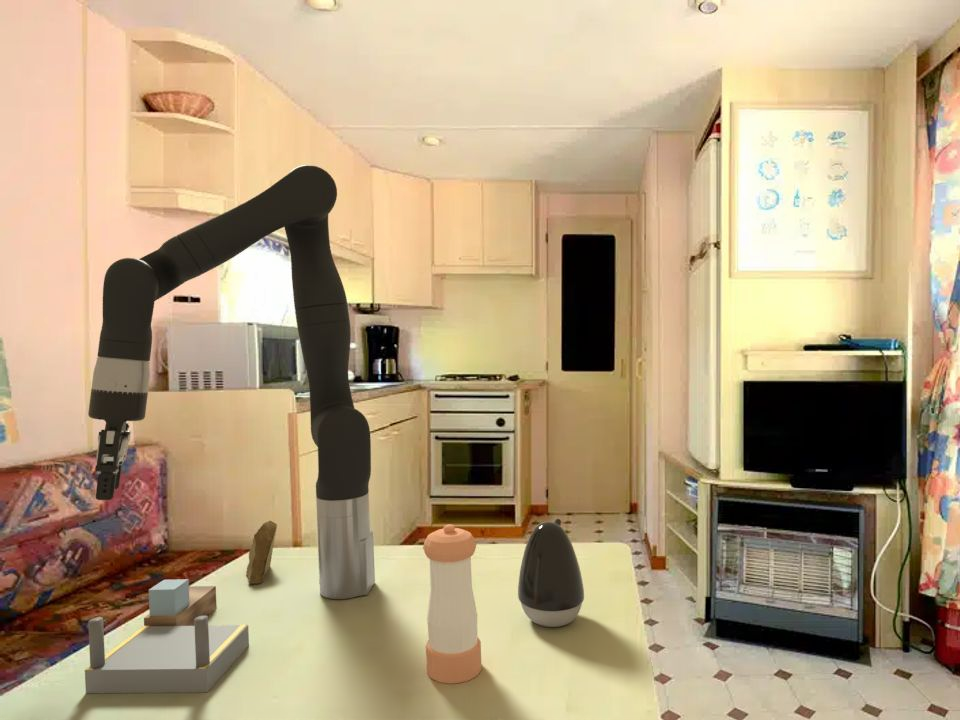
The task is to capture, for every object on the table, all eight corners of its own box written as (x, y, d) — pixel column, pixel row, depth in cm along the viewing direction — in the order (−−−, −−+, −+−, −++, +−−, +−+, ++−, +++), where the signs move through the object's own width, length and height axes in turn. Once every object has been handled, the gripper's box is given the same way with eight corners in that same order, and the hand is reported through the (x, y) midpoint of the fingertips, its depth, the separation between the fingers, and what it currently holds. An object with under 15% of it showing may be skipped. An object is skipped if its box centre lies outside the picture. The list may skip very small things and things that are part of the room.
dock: (249, 645, 87) (246, 584, 87) (207, 692, 75) (204, 621, 75) (143, 646, 87) (140, 586, 87) (85, 693, 75) (82, 623, 75)
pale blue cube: (165, 604, 93) (163, 579, 93) (189, 604, 93) (188, 579, 93) (149, 616, 89) (148, 589, 89) (175, 615, 89) (174, 589, 89)
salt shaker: (446, 650, 83) (441, 515, 83) (491, 662, 80) (486, 520, 79) (415, 675, 77) (410, 529, 77) (462, 689, 73) (457, 536, 73)
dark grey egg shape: (592, 610, 94) (589, 515, 94) (574, 640, 85) (571, 535, 85) (532, 601, 98) (529, 510, 98) (509, 628, 89) (505, 528, 89)
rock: (270, 575, 109) (299, 550, 118) (241, 539, 109) (272, 516, 118) (234, 604, 112) (265, 578, 121) (206, 569, 112) (239, 545, 121)
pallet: (188, 609, 101) (187, 586, 101) (216, 609, 100) (215, 586, 100) (144, 644, 89) (143, 618, 89) (177, 644, 88) (176, 617, 88)
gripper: (145, 392, 86) (132, 503, 86) (150, 388, 99) (139, 485, 98) (84, 388, 83) (70, 504, 82) (97, 384, 96) (85, 485, 95)
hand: (107, 493), depth 90 cm, fingers open, 8 cm apart
